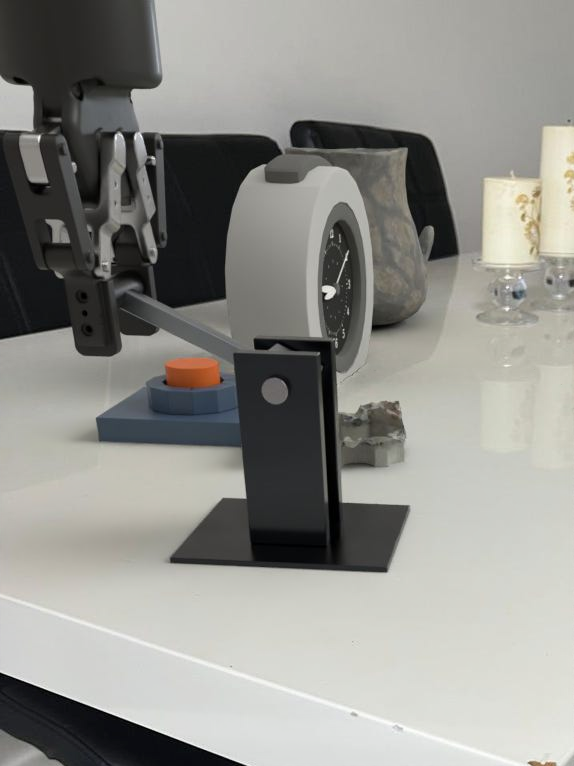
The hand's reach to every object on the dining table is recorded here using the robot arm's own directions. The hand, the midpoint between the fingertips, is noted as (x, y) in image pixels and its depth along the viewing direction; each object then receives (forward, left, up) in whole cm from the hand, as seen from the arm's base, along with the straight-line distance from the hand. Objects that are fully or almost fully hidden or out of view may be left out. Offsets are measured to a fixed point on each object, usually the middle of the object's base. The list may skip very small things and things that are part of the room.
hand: (120, 342), depth 54 cm
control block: (-4, +22, -12) cm, 25 cm away
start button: (-4, +22, -7) cm, 24 cm away
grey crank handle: (+4, 0, -1) cm, 4 cm away
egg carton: (+8, +16, -12) cm, 21 cm away
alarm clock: (0, +45, -12) cm, 47 cm away
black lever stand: (+9, 0, -12) cm, 15 cm away
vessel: (-1, +75, -12) cm, 76 cm away
